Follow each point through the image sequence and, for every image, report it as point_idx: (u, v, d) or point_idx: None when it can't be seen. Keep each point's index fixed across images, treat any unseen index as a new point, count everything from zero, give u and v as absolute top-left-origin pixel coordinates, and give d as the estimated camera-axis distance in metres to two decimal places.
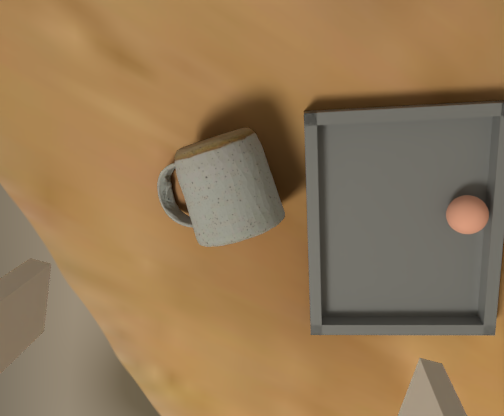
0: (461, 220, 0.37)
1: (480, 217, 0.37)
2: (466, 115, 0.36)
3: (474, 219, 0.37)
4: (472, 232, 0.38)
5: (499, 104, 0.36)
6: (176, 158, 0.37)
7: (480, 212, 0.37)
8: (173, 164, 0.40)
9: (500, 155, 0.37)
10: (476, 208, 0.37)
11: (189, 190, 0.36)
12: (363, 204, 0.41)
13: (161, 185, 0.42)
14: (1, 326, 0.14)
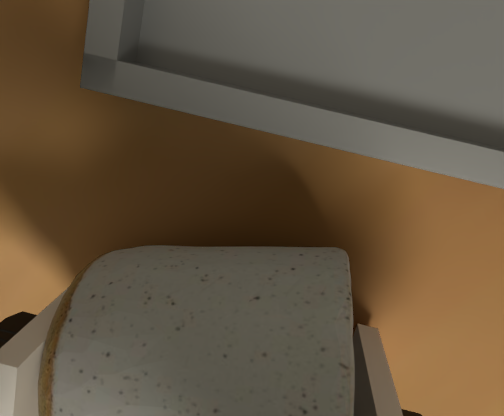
0: None
1: None
2: None
3: None
4: None
5: None
6: None
7: None
8: None
9: None
10: None
11: None
12: None
13: None
14: None
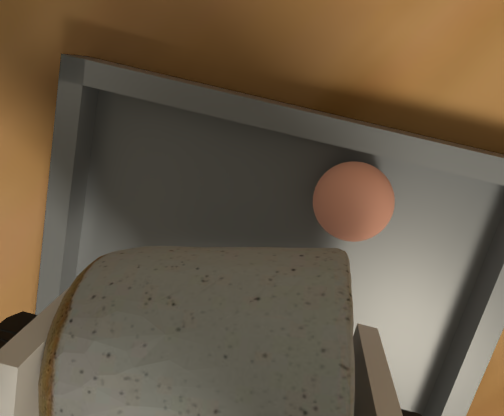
0: None
1: None
2: (71, 146, 0.19)
3: None
4: None
5: (61, 85, 0.19)
6: None
7: None
8: None
9: (157, 97, 0.19)
10: None
11: None
12: None
13: None
14: None
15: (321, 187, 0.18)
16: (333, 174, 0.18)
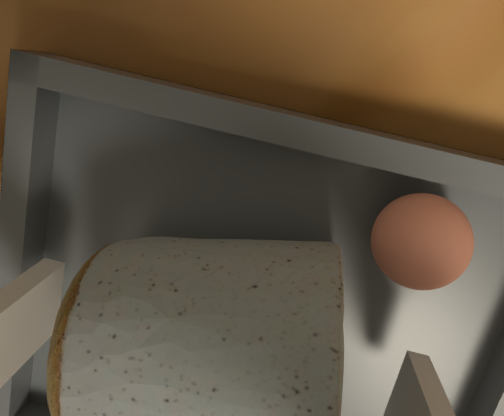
0: None
1: None
2: (25, 159, 0.16)
3: None
4: (375, 221, 0.16)
5: (11, 87, 0.16)
6: None
7: None
8: None
9: (127, 101, 0.15)
10: None
11: None
12: None
13: None
14: (18, 324, 0.14)
15: (440, 247, 0.14)
16: (447, 227, 0.14)
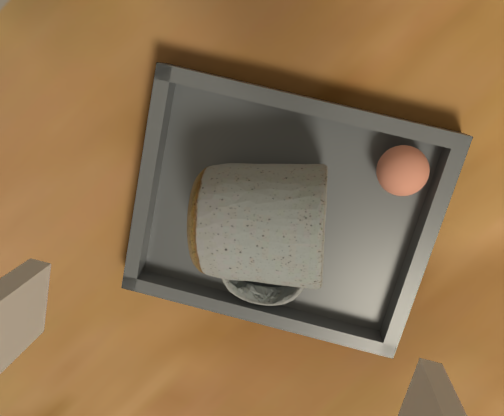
0: (377, 178, 0.30)
1: (381, 156, 0.30)
2: (160, 120, 0.30)
3: (378, 164, 0.30)
4: (392, 168, 0.28)
5: (155, 82, 0.30)
6: (201, 272, 0.29)
7: None
8: None
9: (216, 89, 0.30)
10: None
11: (240, 274, 0.27)
12: None
13: (246, 296, 0.33)
14: (1, 326, 0.14)
15: (429, 171, 0.29)
16: (427, 160, 0.29)
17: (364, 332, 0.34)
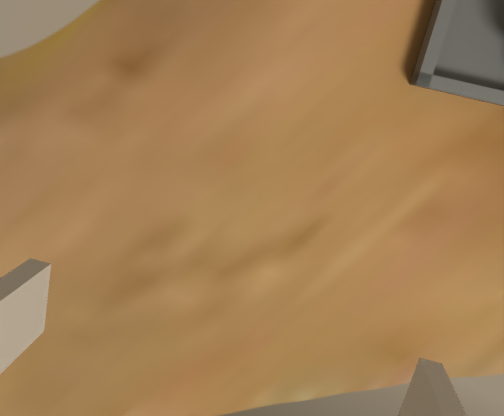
0: None
1: None
2: None
3: None
4: None
5: None
6: None
7: None
8: None
9: None
10: None
11: None
12: None
13: None
14: (1, 326, 0.14)
15: None
16: None
17: None
